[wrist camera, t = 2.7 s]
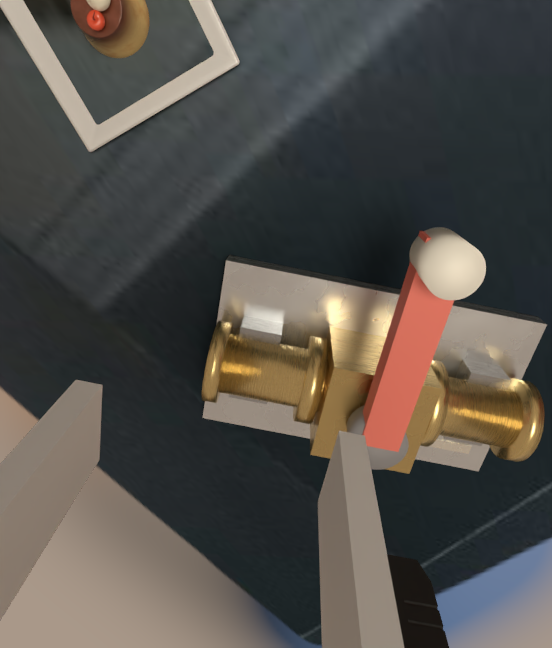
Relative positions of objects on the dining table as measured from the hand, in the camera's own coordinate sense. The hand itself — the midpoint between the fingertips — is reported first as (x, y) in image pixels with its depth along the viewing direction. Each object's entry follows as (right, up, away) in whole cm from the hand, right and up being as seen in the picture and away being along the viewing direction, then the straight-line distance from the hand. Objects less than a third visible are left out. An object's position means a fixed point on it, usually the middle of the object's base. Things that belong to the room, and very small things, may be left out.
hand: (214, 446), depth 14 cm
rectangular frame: (-8, +23, +16) cm, 30 cm away
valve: (+9, 0, +24) cm, 26 cm away
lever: (+9, +2, +14) cm, 17 cm away
